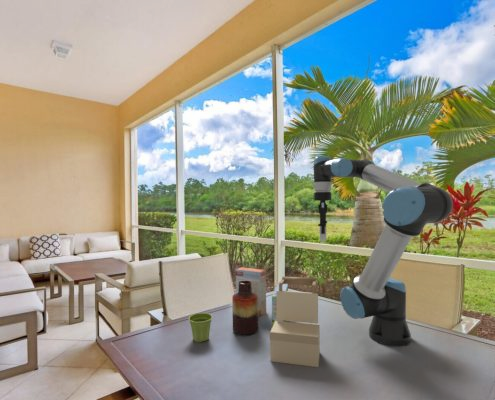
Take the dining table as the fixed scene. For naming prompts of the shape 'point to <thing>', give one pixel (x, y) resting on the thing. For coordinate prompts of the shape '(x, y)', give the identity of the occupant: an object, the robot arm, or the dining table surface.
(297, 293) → the flap
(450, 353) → the dining table surface
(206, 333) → the plant pot
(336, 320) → the dining table surface
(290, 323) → the carton
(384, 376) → the dining table surface
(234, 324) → the vase
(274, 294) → the snack box
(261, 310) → the cracker box
